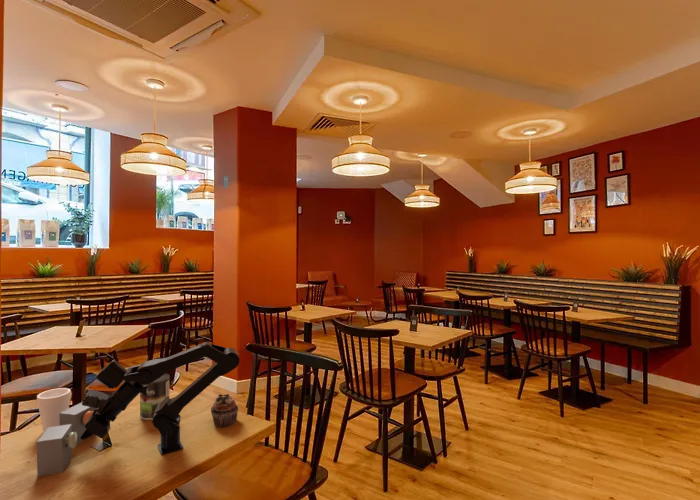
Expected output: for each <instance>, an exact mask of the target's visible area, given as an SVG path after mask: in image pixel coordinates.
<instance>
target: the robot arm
mask: <svg viewBox="0 0 700 500" xmlns="http://www.w3.org/2000/svg"><path fill="white" fill-rule="evenodd" d="M202 358H207V359H208V360H209V359H210V360H211V361H213V363H212V365H211V366H210V367H208V368H207V369H206V370H205V371H204V372H203V373H202V374H200V375H199V376H198V377H197V378H196V379H195V380H194V381H192V382H191V383H190V384H189V385H188V386H187V387H185V388H184V389H183V390H182V391H181V392H180V393H179V394H177V395H176V396H174V397H172V398H170V395H169V396H167V397H166V398H165V399H164V400H163V401H162V402H161V403H158V405H157V408H156V410H155V413H154V416H153V420H151V421H152V422H151V423H152V425H153V427H154V428H155V429H157V430H158V432H159V435H160V443H158V444H157V448H158V450H159V451H160V455H165V454H169V453H173V452H176V451H179V450H182V449H184V445H183V444H182V441H181V425H180V424H181V419H182V418H181V417H182V416H181V414H180V413H181V412H182V410H183V409H184V408H186V406H187V405H188V404H190V403H191V402H192V401H193V400H194V399H195V398H196V397H198V396H199V395H200V394H201V393H202V392H204V390H205V389H207V388H208V387H209V386H210V385H212V383H213V382H214V381H216V380H217V379H218V378H220V377H222V376H224V375H227V374H228V373H231V372H232V371H233V370H235V369H236V368H237V367H238V366H239V364H240V360H241V359H240V356H239V352H238V351H237V349H236V348H233V347H224V346H221V345H217V344H214V343H211V342H209V341H204V342H202V343H200V344H198V345H195V346H193V347H191V348H188V349H186V350H183V351H180V352H178V353H175V354H173V355H170V356H167V357H163V358H155V359H151V360H145V361H143V362H141V364H139V365H136V366H135V365H134V366H132V367H128V368H127V369H126V368H125V367H123V366H122V365H121V364H120V363H119V362H118V361H117V360H116V359H113V360H112V361H111V362H109V363H108V364H106V365H105V366H104V367H103V368H102V369H100V371H99V372H97V374H96V375H95V376H94V379H96V380H97V381H99V382H100V383H101V384H103V385H104V386H105V387H107V388H108V389H112V390H113V389H114V388H115V389H116V390H115V391H112V392H110V393H109V394H107V393H105V392H102V391H99V390H94V389H88V391H87V393H86V394H85V396H84V398H83V400H82V401H81V402H82V405H83V406H88V407H92V408H98V409H97V410H94V412H93V413H92V415H91V416H90V418H89V420H88V421H87V423H86V424H85V428H86V430H85V432H84V433H83V434H82V436H81V437H80V438H81V439H82V440H83V441H85V440H87V439H88V438H90V437H93V436H96V437H97V438H99V439H104V438H105V437H106V436H107V435H108V434H109V432H110V429H111V422H112V423H113V422H114V421H115V420H116V419H117V418H118V416H119V415H120V414H121V413H122V412H125V410H126V409H127V407H128V405H130V404H131V402H132V401H134V399H135V398H136V397H138V395H140V393H142V394H143V395H144V396H146V395H147V393H148V384H150V383H152V382H153V381H155V380H157V379H158V378H160V377H161V376H163V375H164V374H168V372H170V371H173V370H175V369H178V368H181V367H183V366H186V365H188V364H190V363H193V362H195V361H198V360H201V359H202ZM123 381H124V382H123ZM122 382H123V383H122ZM86 438H87V439H86ZM84 439H85V440H84Z"/></svg>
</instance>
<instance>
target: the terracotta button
mask: <svg viewBox="0 0 700 500" xmlns="http://www.w3.org/2000/svg"><path fill="white" fill-rule="evenodd" d="M93 412H94V411H87V412H86V413H85V414H84V415H83V419H82V422H83V424H84V425H85V424H86V423H87V421H88V420H89V418H90V416H91V415H92V413H93Z"/></svg>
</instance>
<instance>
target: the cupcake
mask: <svg viewBox="0 0 700 500" xmlns="http://www.w3.org/2000/svg"><path fill="white" fill-rule="evenodd" d="M238 412H239V406H238V405H237V403H236V401H235V400H234V398H232V396H230V394H228V393H227V394H224V395H223V394H218V395H217V396H216V397H215V400H214V402H213V404H212V406H211V407H210V413H211V417H212V421H213V424H214V426H215V427H217V428H226V427H230V426H233V425H235V423H236V422H237V418H238ZM232 424H233V425H232Z"/></svg>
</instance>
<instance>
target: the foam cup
mask: <svg viewBox="0 0 700 500" xmlns="http://www.w3.org/2000/svg"><path fill="white" fill-rule="evenodd" d="M71 391H72V390H71V389H70V388H67V387H58V388H53V389H48V390H45V391H43V392H40V393H38V394H37V395H36V403H37V405H38V411H39V415H40V420H41V421H40V422H41V426H42V431H43V433H44V432H45V431H46V430H47V428H48V427H54V426H60V420H59V413H61V412H63V411H65V410H67V409H69V408H70V401H71V397H72V395H71V393H72V392H71Z"/></svg>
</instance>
